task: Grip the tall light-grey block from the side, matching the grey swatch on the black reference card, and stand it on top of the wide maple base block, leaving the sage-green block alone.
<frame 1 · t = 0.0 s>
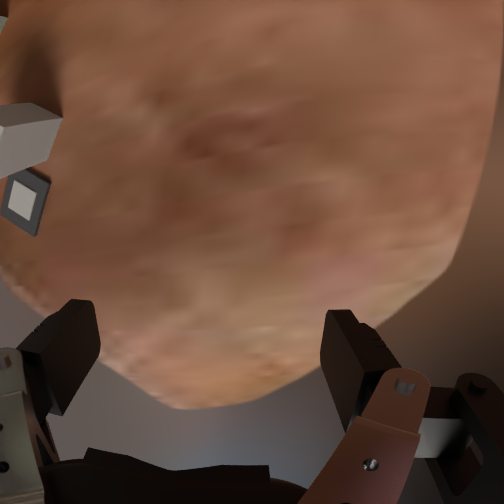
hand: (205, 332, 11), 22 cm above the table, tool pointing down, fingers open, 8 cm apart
grey block: (38, 131, 27), on the table
reference card: (24, 198, 30), on the table
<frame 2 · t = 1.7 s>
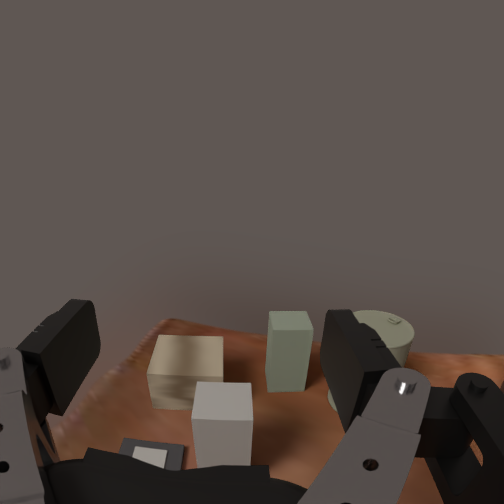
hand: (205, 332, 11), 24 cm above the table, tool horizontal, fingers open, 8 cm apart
base block: (190, 389, 41), on the table
can: (360, 399, 39), on the table
grey block: (224, 463, 29), on the table
sage block: (284, 380, 44), on the table
reference card: (149, 464, 28), on the table
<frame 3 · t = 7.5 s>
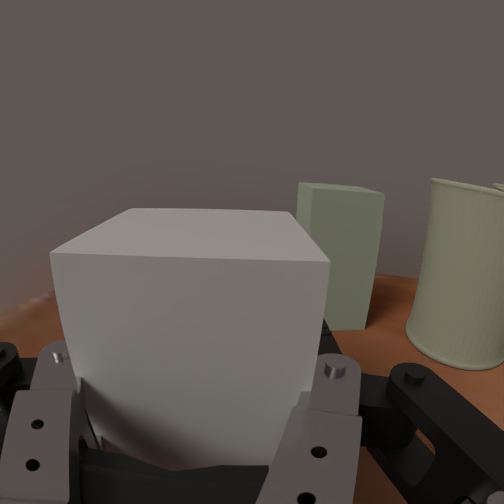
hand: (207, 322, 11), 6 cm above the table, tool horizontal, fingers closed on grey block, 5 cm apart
can: (457, 340, 21), on the table
grey block: (209, 479, 10), on the table, touching gripper
sage block: (325, 315, 25), on the table
when the fingers open (13 cm above the table, at t = 12.4 s): grey block drops 2 cm, resting on base block.
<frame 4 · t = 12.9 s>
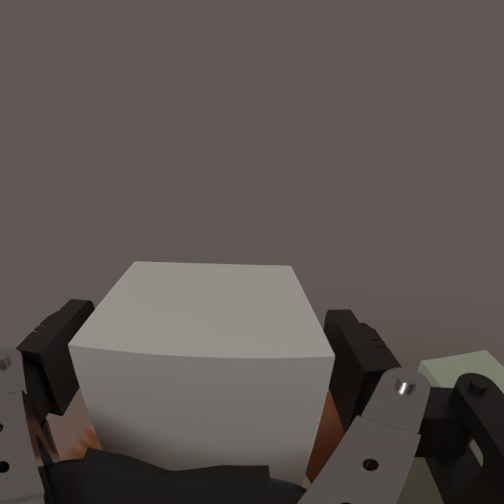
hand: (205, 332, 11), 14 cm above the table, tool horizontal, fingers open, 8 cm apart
grey block: (214, 502, 11), point 6 cm above the table, touching base block
sage block: (415, 490, 15), on the table
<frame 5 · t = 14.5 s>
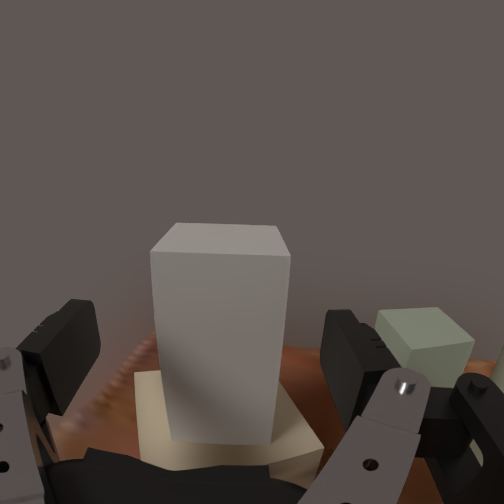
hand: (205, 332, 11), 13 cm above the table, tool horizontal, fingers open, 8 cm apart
base block: (218, 468, 18), on the table, touching grey block
can: (502, 446, 17), on the table
grey block: (222, 411, 17), point 6 cm above the table, touching base block
sage block: (387, 433, 21), on the table
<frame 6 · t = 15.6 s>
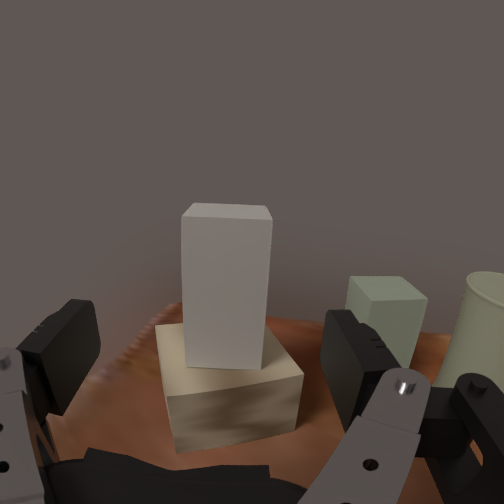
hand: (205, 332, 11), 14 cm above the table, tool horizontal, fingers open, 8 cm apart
base block: (221, 407, 25), on the table
can: (470, 403, 23), on the table
grey block: (224, 348, 23), point 6 cm above the table
sage block: (364, 385, 27), on the table
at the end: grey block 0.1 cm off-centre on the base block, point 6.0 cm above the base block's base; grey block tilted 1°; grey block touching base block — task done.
